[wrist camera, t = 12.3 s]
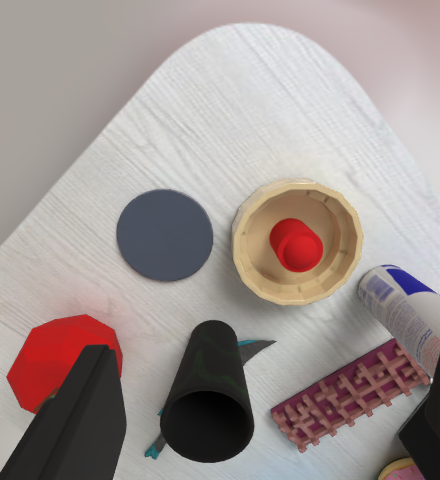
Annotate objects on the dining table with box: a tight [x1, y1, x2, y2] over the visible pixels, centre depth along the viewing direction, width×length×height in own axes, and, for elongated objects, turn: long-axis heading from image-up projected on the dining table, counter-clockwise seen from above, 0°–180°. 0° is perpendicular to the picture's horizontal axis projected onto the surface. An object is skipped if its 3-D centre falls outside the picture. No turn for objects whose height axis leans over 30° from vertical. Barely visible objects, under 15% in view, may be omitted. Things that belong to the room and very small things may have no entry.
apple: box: [6, 314, 123, 414], centre depth 31 cm, size 11×11×10 cm
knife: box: [144, 340, 277, 460], centre depth 38 cm, size 24×1×5 cm
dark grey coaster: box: [117, 189, 213, 281], centre depth 32 cm, size 10×10×1 cm
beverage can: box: [358, 265, 440, 379], centre depth 28 cm, size 6×6×15 cm
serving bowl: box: [231, 178, 364, 305], centre depth 31 cm, size 12×12×4 cm
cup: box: [160, 320, 255, 463], centre depth 31 cm, size 8×8×12 cm
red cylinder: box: [270, 218, 323, 273], centre depth 30 cm, size 4×4×6 cm
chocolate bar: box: [271, 338, 430, 453], centre depth 38 cm, size 7×19×2 cm, turn 127°
